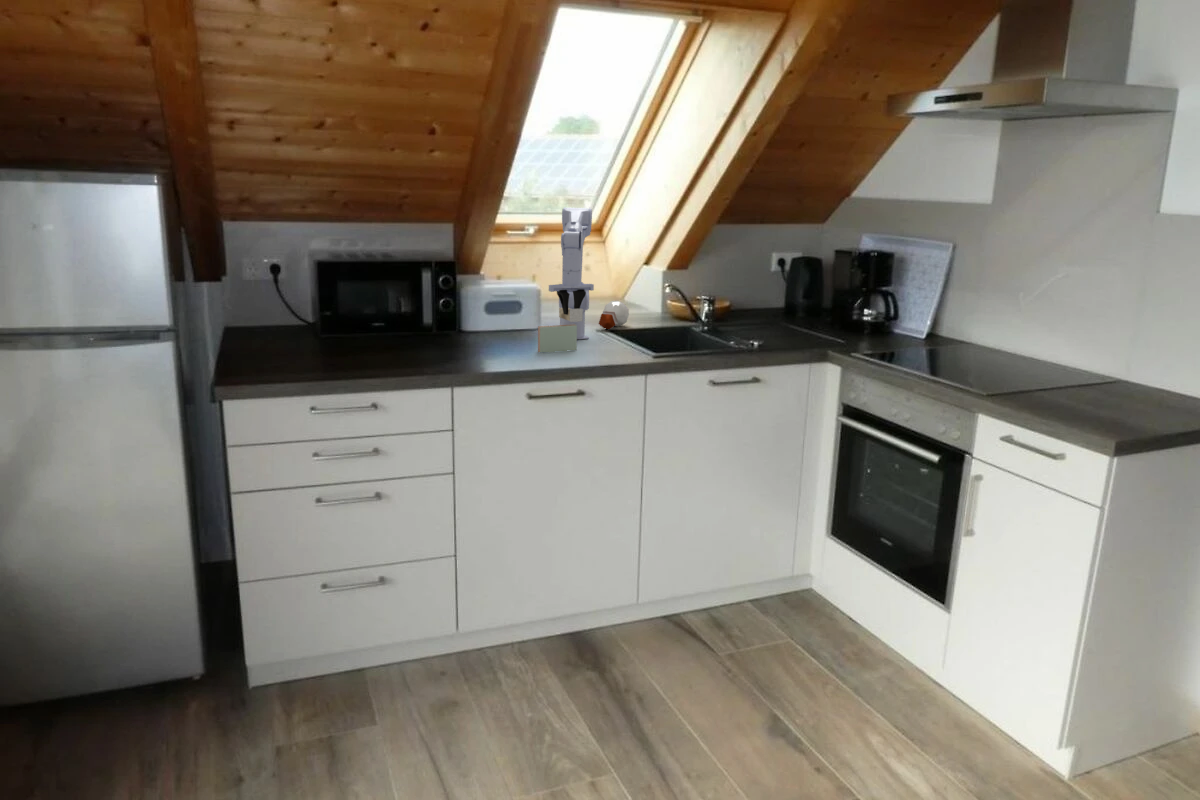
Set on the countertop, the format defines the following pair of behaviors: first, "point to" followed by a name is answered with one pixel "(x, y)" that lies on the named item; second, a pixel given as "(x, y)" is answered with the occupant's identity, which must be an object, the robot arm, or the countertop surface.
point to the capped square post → (572, 314)
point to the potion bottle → (614, 315)
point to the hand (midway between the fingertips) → (571, 313)
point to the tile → (557, 338)
